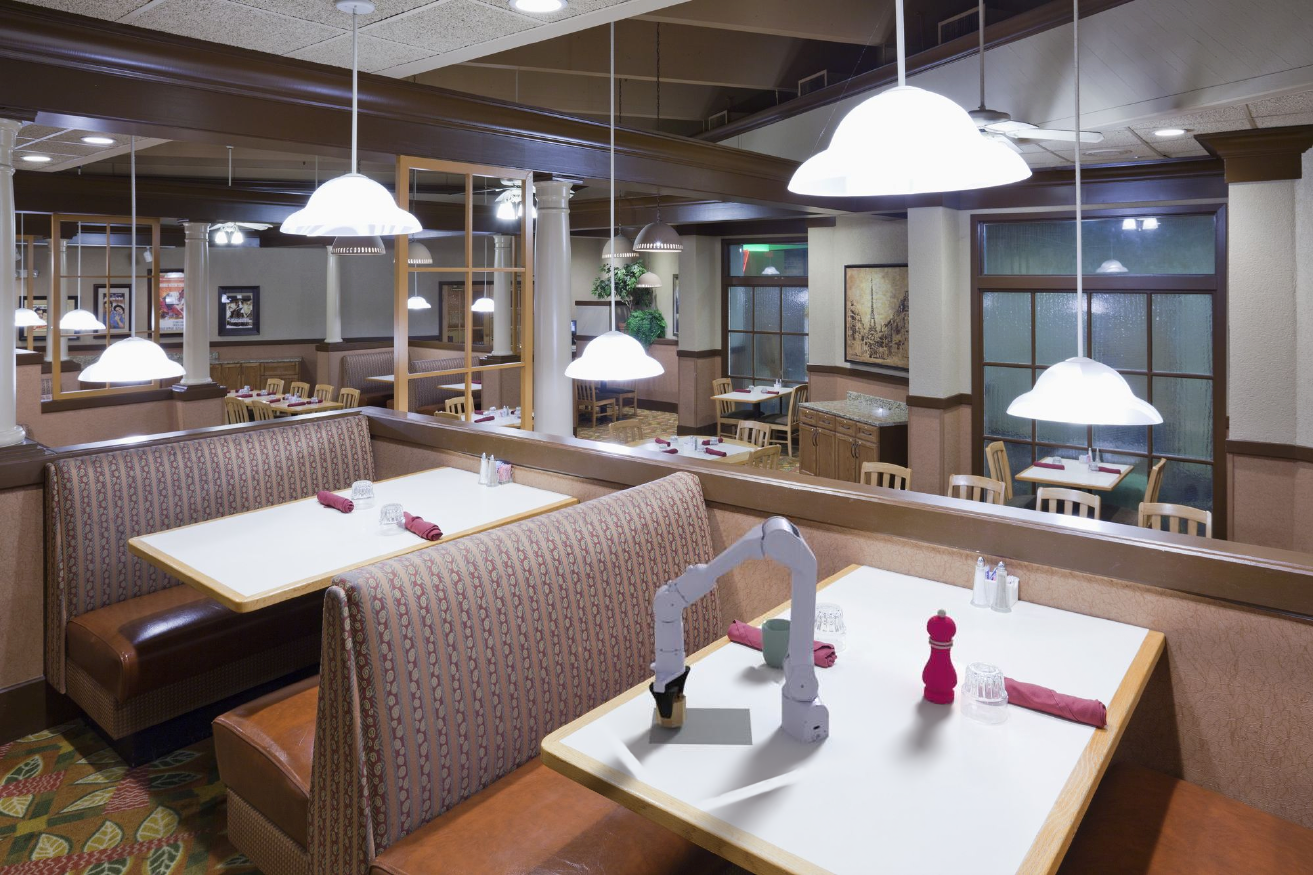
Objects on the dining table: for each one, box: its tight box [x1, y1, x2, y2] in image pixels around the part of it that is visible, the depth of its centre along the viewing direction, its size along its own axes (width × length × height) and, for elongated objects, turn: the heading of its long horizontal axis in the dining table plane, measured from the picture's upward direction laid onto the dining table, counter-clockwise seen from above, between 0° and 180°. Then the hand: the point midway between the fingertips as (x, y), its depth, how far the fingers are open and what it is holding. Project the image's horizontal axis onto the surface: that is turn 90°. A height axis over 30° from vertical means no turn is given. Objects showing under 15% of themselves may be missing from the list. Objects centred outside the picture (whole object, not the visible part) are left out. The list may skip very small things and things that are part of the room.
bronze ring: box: [655, 691, 687, 728], centre depth 169 cm, size 6×6×5 cm
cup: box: [761, 618, 790, 669], centre depth 198 cm, size 8×8×10 cm
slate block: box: [648, 707, 753, 746], centre depth 169 cm, size 20×14×2 cm
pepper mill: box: [921, 608, 958, 705], centre depth 179 cm, size 7×7×20 cm
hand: (671, 709), depth 169 cm, fingers open, 6 cm apart
